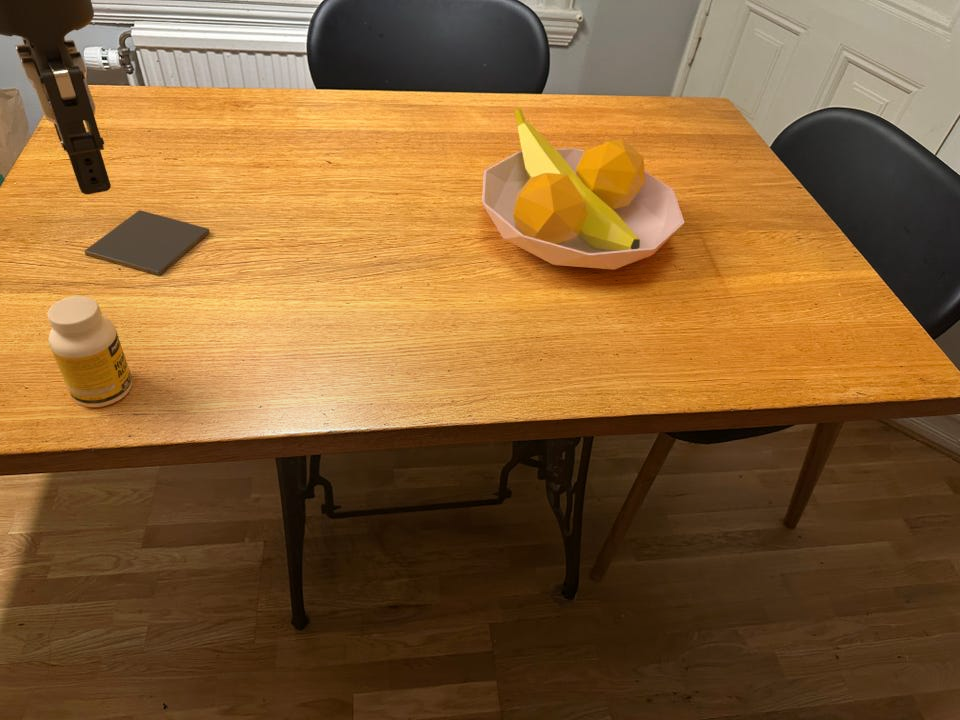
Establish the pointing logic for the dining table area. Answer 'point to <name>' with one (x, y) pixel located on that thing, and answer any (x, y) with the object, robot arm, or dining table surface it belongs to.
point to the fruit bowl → (579, 202)
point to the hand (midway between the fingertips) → (85, 166)
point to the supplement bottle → (88, 352)
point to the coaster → (147, 242)
